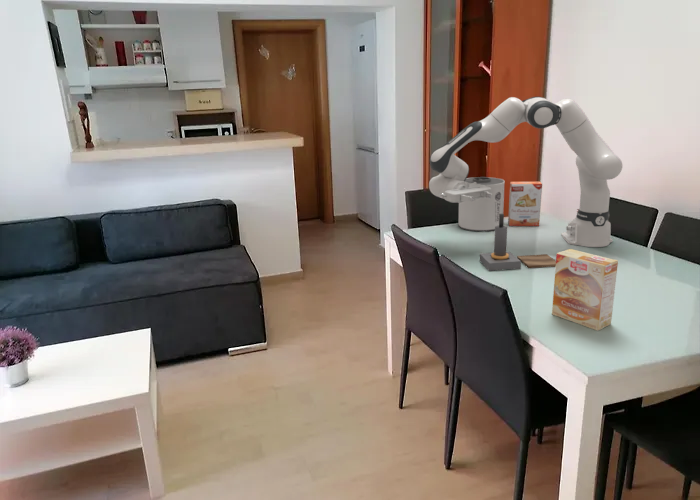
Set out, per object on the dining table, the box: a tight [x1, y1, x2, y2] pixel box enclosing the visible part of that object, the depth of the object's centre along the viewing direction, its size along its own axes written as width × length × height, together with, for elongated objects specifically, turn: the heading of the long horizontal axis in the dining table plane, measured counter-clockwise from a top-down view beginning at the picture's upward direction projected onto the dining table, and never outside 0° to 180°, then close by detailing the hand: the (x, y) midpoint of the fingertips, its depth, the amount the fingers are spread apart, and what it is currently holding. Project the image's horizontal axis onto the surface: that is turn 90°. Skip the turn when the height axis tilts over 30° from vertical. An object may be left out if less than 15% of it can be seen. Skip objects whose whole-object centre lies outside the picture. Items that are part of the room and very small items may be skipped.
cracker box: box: [507, 181, 543, 227], centre depth 253 cm, size 14×6×21 cm, turn 81°
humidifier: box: [458, 176, 506, 232], centre depth 254 cm, size 22×21×23 cm
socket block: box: [479, 251, 522, 272], centre depth 203 cm, size 12×12×3 cm
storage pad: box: [516, 253, 556, 269], centre depth 204 cm, size 12×12×1 cm
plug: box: [491, 213, 509, 260], centre depth 200 cm, size 6×6×20 cm
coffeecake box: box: [551, 248, 619, 332], centre depth 152 cm, size 15×7×20 cm, turn 35°
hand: (481, 197), depth 205 cm, fingers open, 8 cm apart
